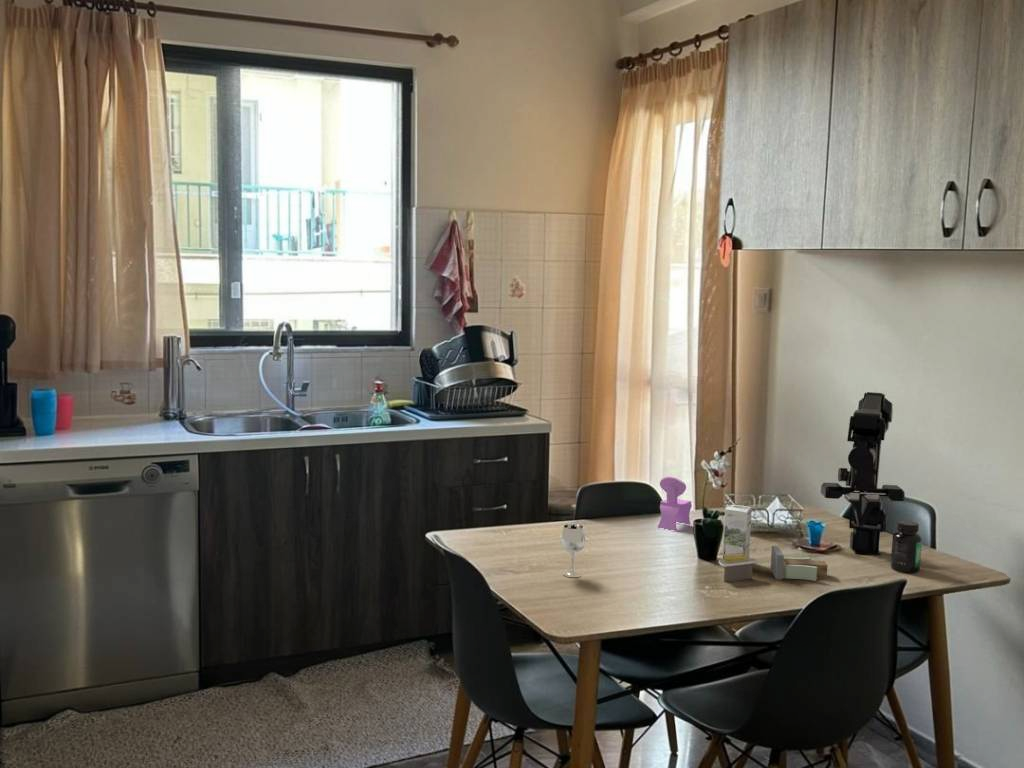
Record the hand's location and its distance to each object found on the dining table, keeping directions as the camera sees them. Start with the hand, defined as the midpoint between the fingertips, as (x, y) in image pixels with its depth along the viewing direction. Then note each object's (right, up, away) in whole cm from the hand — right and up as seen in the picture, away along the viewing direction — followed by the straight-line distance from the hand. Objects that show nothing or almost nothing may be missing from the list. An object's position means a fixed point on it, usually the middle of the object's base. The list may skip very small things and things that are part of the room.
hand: (860, 526), depth 248 cm
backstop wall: (-21, -12, -1) cm, 24 cm away
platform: (-32, -13, -5) cm, 34 cm away
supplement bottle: (+13, -12, +5) cm, 19 cm away
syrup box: (-29, -11, +8) cm, 32 cm away
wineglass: (-71, -11, -5) cm, 72 cm away
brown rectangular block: (-14, -12, -1) cm, 18 cm away
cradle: (-16, -12, -1) cm, 20 cm away
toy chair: (-39, -6, +42) cm, 57 cm away
